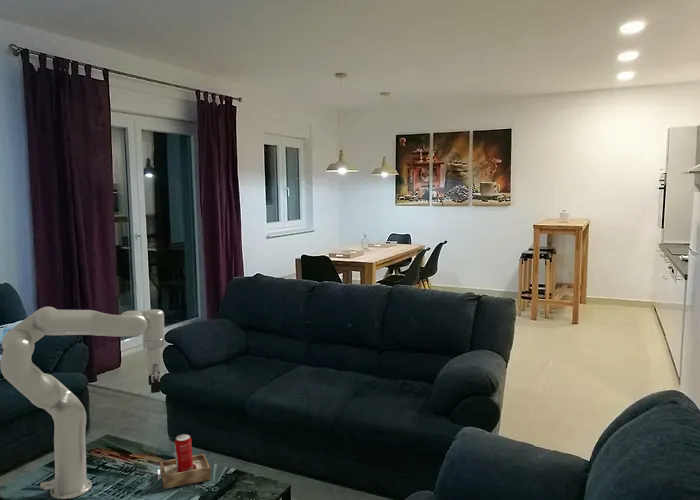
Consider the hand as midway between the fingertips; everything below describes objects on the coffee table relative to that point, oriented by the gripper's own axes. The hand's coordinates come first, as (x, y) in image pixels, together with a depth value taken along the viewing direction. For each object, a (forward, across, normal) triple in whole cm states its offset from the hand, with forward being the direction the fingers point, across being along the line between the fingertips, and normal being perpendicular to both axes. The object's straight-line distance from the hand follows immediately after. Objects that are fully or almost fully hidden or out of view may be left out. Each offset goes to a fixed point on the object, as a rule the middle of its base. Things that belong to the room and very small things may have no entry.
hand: (154, 388), depth 201 cm
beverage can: (+31, +12, +9) cm, 34 cm away
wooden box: (+30, +12, +9) cm, 34 cm away
